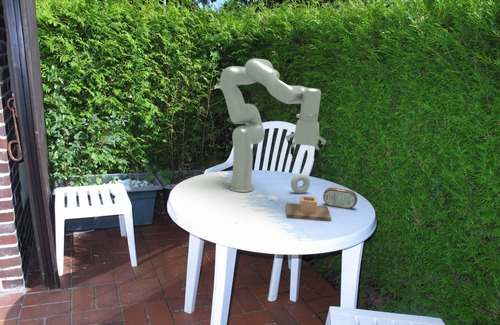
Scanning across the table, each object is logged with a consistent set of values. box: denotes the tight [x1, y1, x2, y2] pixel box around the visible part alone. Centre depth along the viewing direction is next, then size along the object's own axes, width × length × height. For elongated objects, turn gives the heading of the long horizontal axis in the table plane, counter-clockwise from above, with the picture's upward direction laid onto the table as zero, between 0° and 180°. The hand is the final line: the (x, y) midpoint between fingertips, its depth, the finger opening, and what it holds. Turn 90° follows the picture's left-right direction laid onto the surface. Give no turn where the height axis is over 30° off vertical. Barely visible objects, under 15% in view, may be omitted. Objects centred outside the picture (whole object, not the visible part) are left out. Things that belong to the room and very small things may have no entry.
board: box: [285, 202, 332, 222], centre depth 166 cm, size 18×14×2 cm
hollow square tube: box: [299, 195, 318, 213], centre depth 165 cm, size 6×6×5 cm
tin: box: [322, 186, 358, 210], centre depth 176 cm, size 15×3×8 cm, turn 71°
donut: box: [290, 173, 311, 194], centre depth 192 cm, size 10×3×10 cm, turn 104°
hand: (303, 157), depth 169 cm, fingers open, 9 cm apart
